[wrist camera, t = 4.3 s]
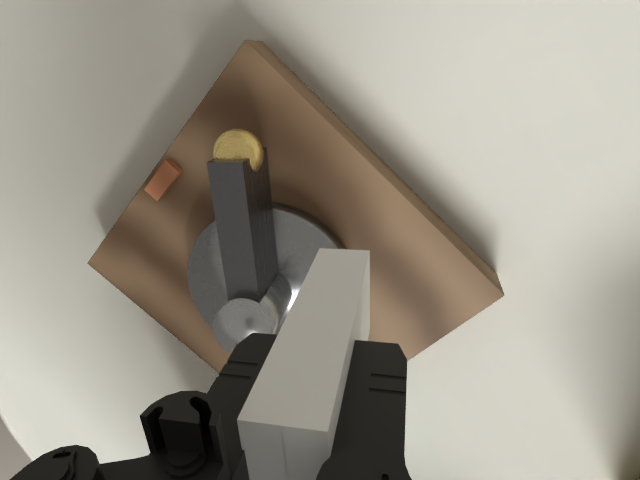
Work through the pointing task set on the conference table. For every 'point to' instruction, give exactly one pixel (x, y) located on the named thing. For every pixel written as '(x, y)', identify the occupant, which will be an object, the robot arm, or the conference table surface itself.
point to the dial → (250, 246)
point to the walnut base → (301, 192)
